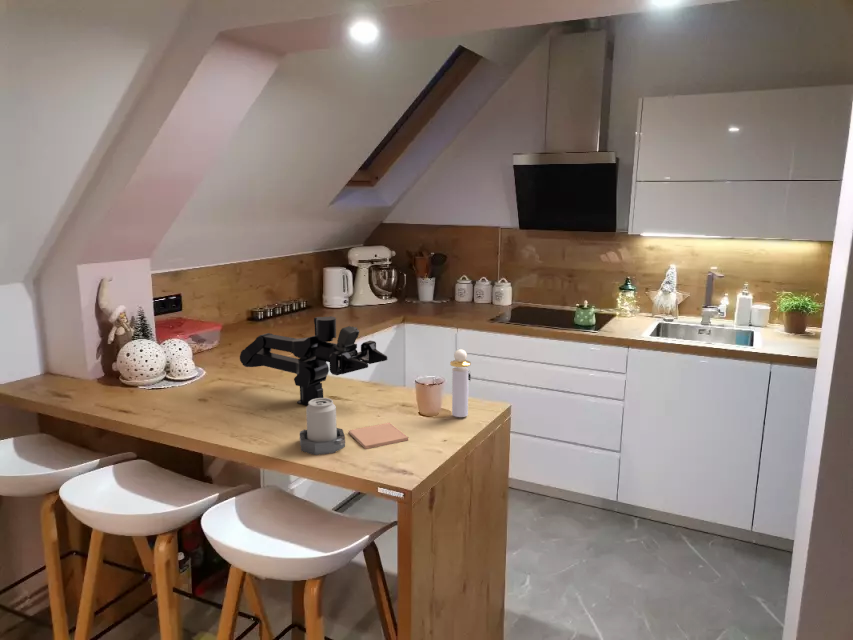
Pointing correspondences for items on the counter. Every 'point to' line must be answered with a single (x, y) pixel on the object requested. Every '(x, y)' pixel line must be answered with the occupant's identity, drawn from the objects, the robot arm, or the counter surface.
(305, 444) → the collar
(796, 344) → the counter surface
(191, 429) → the counter surface
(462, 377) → the perfume bottle
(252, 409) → the counter surface
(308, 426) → the can
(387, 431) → the coaster
